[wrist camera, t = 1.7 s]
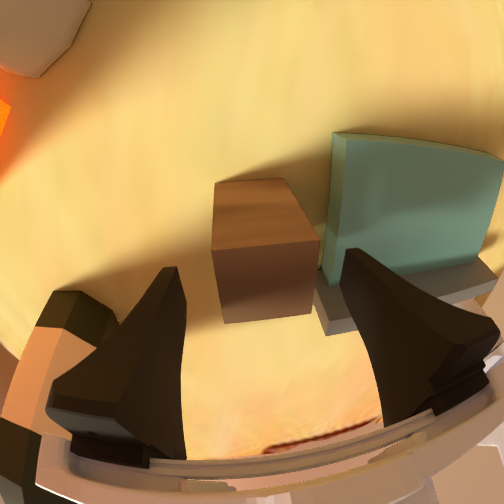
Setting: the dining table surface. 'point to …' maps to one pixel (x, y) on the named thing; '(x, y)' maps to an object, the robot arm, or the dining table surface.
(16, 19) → the flask
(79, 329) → the wine bottle
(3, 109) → the orange juice
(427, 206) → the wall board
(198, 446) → the dining table surface
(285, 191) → the walnut block
